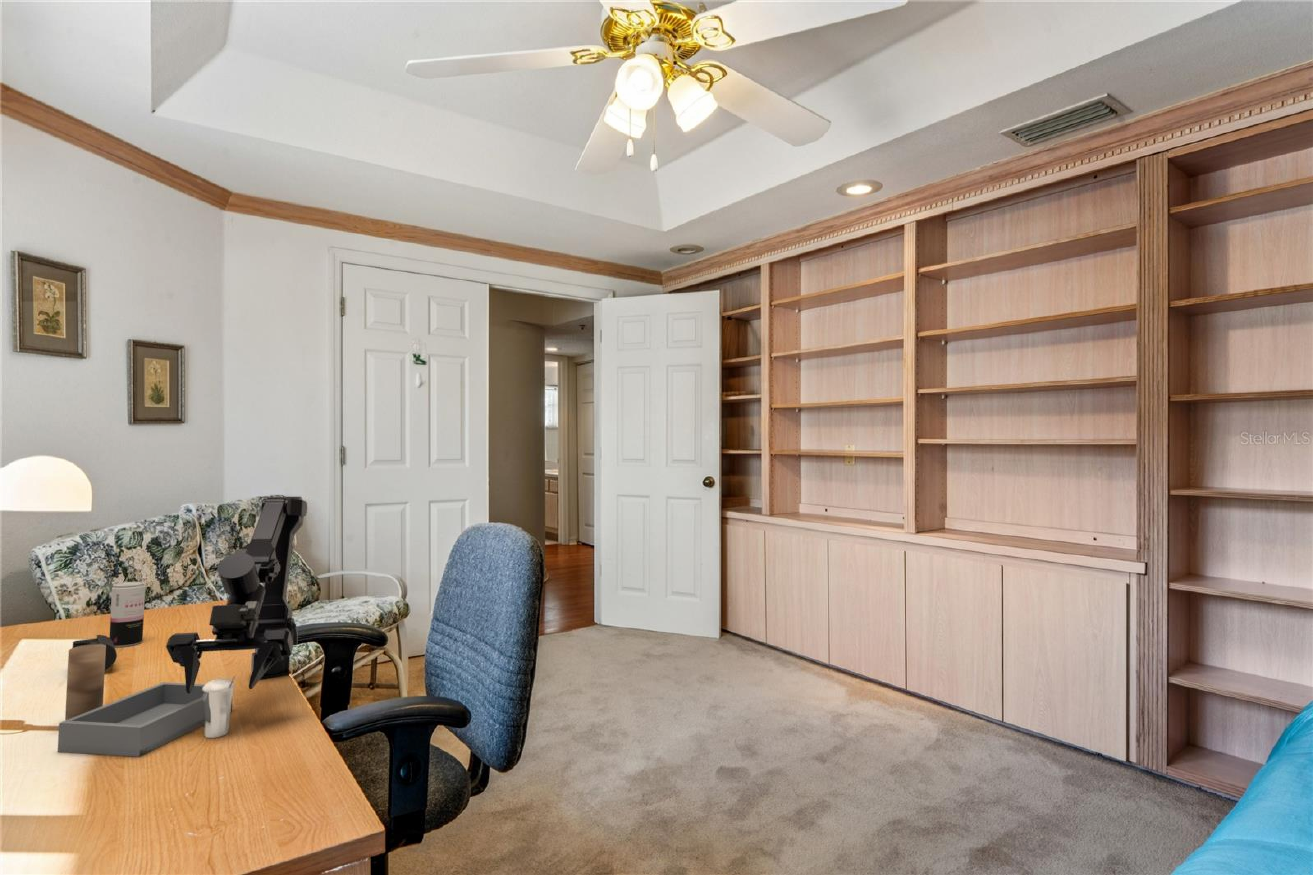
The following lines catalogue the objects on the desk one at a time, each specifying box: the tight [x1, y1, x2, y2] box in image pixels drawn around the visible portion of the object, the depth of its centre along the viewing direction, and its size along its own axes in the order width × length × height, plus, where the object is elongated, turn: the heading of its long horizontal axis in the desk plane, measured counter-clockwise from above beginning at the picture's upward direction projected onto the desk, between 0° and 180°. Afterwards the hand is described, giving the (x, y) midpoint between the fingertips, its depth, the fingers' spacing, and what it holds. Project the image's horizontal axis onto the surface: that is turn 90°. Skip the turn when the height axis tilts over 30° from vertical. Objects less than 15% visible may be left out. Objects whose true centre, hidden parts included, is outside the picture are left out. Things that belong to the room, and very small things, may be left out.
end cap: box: [72, 634, 118, 672], centre depth 146 cm, size 10×7×7 cm
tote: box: [57, 681, 234, 758], centre depth 115 cm, size 20×14×4 cm
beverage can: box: [108, 581, 146, 648], centre depth 167 cm, size 7×6×15 cm
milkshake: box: [202, 675, 236, 739], centre depth 113 cm, size 4×5×10 cm
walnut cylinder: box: [64, 644, 106, 721], centre depth 117 cm, size 5×5×13 cm
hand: (219, 690), depth 113 cm, fingers open, 9 cm apart
